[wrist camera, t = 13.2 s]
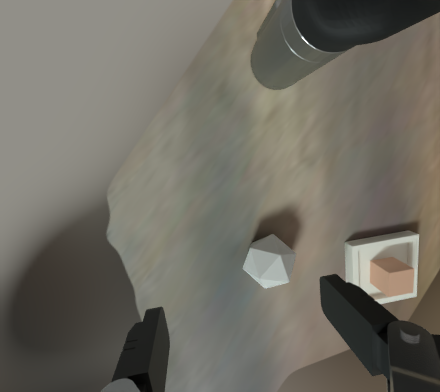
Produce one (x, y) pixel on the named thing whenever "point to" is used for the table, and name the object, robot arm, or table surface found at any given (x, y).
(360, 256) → the tray
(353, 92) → the table surface
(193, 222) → the table surface
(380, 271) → the cube
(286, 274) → the die
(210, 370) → the table surface
